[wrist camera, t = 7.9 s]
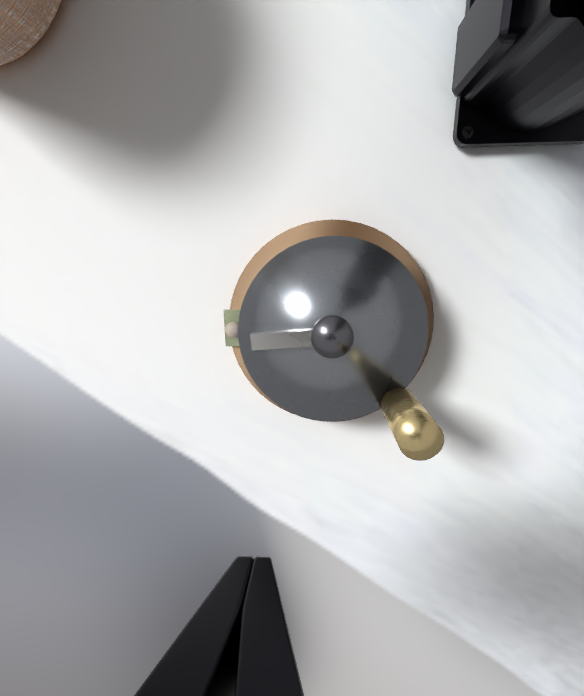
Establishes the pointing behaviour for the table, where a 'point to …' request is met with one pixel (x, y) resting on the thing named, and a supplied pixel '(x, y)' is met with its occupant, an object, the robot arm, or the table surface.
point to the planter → (23, 25)
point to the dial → (340, 337)
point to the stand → (307, 233)
